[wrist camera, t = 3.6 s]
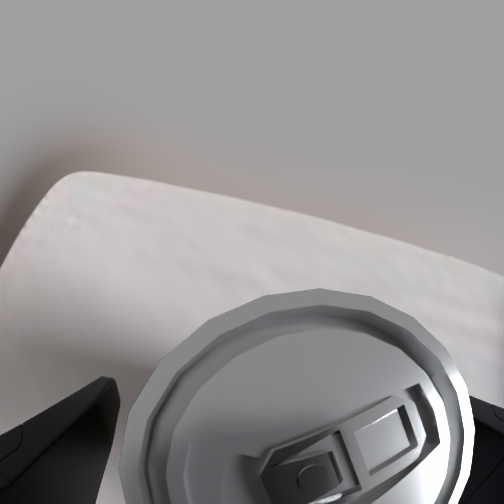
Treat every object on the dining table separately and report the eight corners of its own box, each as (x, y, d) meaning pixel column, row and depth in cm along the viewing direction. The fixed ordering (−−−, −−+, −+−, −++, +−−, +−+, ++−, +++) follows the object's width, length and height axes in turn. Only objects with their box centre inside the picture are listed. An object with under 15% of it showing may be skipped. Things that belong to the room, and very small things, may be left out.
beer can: (280, 368, 15) (405, 239, 5) (314, 457, 12) (502, 495, 2) (180, 396, 13) (65, 325, 3) (213, 490, 11) (196, 643, 1)
